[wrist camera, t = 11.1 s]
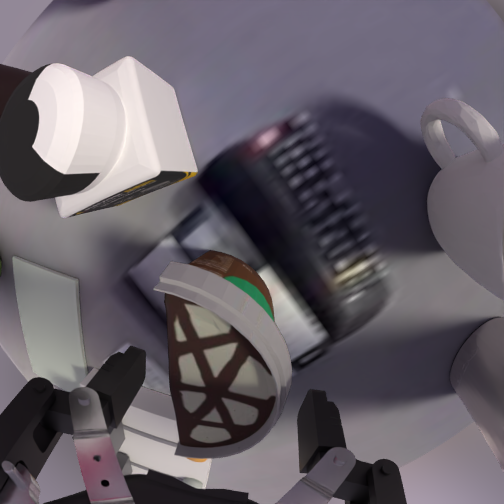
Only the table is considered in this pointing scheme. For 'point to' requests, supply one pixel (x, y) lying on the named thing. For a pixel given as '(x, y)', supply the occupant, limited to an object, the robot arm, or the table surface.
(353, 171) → the table surface
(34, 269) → the pad
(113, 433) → the toggle
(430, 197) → the mug
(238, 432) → the food container
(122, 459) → the toggle
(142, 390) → the panel
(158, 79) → the medicine bottle
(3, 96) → the vinegar
